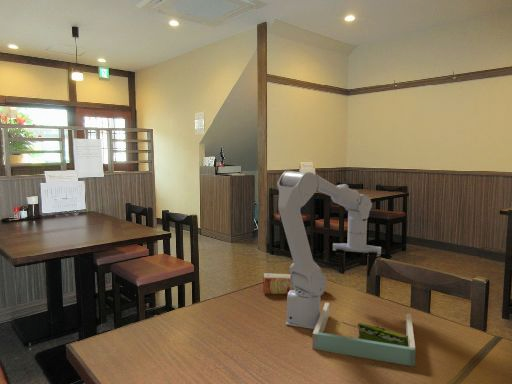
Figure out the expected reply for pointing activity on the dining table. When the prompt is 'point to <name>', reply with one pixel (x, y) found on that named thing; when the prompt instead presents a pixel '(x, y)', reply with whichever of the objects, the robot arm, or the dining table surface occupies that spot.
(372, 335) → the toy tank
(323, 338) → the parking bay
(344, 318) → the dining table surface
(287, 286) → the snack package
